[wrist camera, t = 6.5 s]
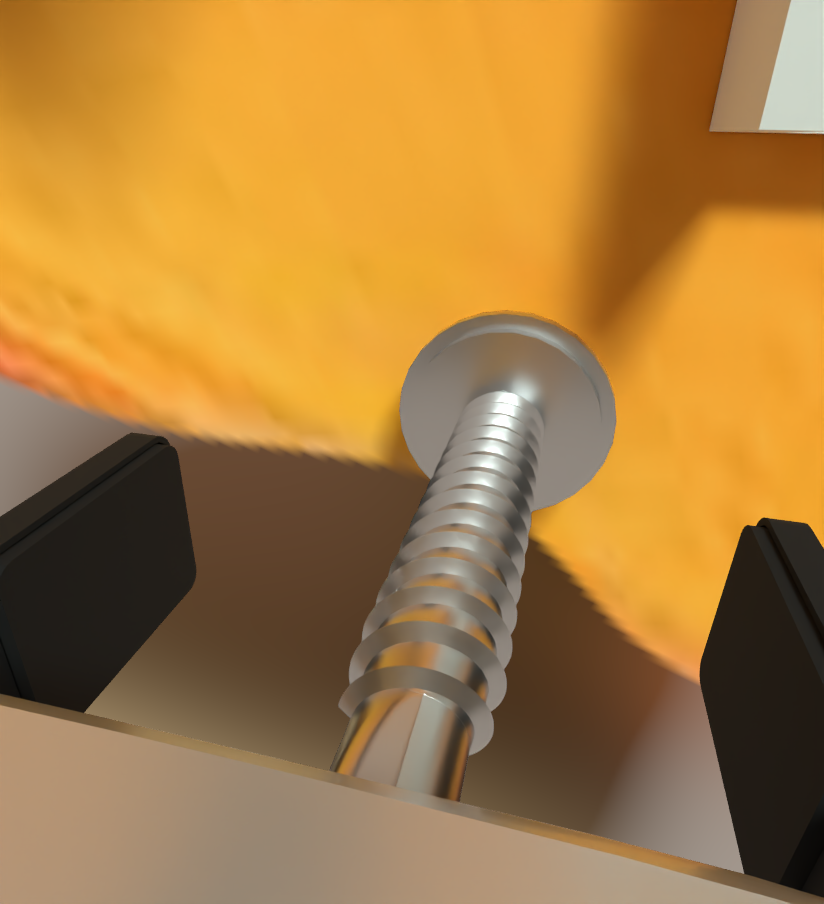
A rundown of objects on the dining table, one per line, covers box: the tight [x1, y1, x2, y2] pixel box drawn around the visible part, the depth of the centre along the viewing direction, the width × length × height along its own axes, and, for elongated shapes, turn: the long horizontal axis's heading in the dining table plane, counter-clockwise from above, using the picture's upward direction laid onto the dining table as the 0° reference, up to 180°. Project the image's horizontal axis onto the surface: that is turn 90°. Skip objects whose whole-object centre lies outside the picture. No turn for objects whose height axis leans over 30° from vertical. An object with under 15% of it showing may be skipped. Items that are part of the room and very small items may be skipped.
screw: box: [329, 310, 616, 802], centre depth 10 cm, size 13×5×5 cm
